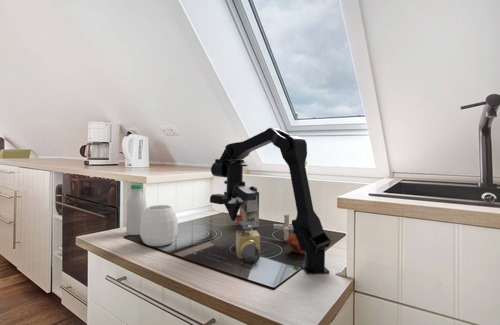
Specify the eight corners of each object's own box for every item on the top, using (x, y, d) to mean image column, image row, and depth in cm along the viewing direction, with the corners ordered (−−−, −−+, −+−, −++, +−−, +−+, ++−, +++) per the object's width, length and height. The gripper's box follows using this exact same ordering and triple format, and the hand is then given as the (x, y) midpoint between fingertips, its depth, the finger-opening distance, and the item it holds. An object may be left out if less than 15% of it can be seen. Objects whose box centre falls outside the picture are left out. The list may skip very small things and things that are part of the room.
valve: (263, 263, 90) (263, 236, 89) (240, 264, 89) (240, 237, 88) (253, 245, 106) (253, 223, 106) (234, 246, 105) (234, 223, 105)
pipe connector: (298, 245, 108) (299, 218, 108) (272, 242, 110) (272, 216, 110) (299, 237, 118) (300, 212, 118) (275, 235, 120) (275, 211, 120)
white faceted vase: (139, 239, 111) (140, 204, 111) (175, 237, 116) (175, 203, 115) (139, 251, 99) (140, 211, 98) (179, 247, 103) (180, 209, 103)
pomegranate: (297, 265, 95) (318, 243, 98) (284, 248, 93) (305, 227, 97) (287, 259, 102) (306, 239, 105) (274, 243, 100) (294, 224, 104)
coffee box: (259, 227, 133) (260, 192, 133) (246, 228, 130) (247, 192, 130) (250, 222, 142) (251, 189, 141) (238, 223, 139) (239, 190, 138)
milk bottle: (146, 234, 118) (147, 185, 118) (126, 236, 115) (126, 185, 115) (146, 229, 125) (146, 183, 125) (126, 231, 123) (126, 183, 122)
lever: (253, 233, 96) (253, 223, 96) (244, 234, 95) (244, 224, 95) (243, 222, 111) (243, 214, 111) (234, 223, 110) (234, 214, 110)
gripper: (231, 181, 95) (230, 229, 95) (267, 179, 109) (266, 221, 109) (209, 178, 102) (208, 223, 103) (245, 177, 116) (244, 216, 116)
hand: (233, 220), depth 107 cm, fingers closed
